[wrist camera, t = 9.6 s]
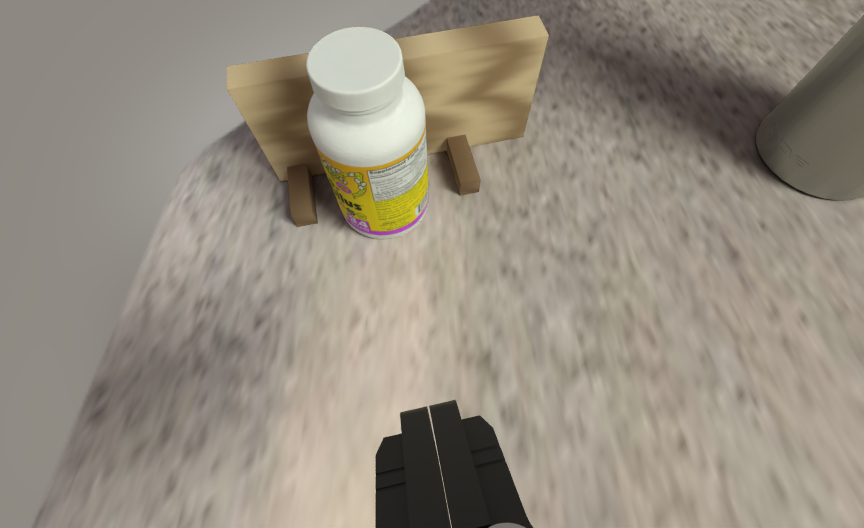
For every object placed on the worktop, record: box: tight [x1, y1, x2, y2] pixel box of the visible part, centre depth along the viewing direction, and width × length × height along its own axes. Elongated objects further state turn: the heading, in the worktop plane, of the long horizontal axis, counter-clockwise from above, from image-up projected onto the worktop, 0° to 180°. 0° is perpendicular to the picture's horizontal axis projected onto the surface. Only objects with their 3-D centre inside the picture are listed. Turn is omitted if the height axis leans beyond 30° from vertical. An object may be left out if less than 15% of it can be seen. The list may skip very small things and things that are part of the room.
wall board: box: [227, 15, 549, 227], centre depth 29 cm, size 20×6×9 cm, turn 102°
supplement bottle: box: [306, 27, 429, 239], centre depth 26 cm, size 7×7×13 cm
